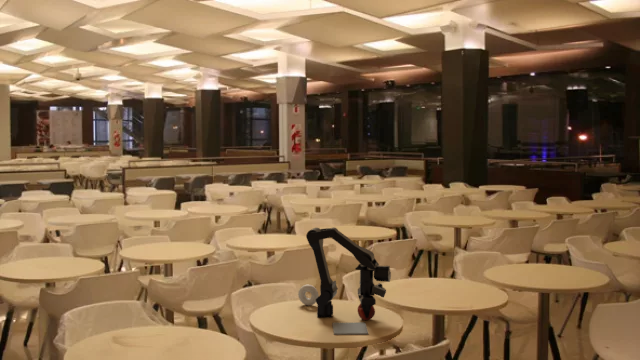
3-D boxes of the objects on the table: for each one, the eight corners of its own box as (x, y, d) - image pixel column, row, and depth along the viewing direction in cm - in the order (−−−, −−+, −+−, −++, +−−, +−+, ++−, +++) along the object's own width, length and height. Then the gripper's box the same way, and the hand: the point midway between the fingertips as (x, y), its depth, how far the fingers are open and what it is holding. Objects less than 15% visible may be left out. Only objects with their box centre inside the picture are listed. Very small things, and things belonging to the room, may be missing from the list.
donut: (297, 305, 320) (297, 284, 319) (299, 303, 323) (299, 282, 322) (317, 307, 316) (317, 286, 315) (319, 305, 320) (319, 284, 318)
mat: (334, 334, 278) (334, 333, 278) (332, 324, 292) (332, 322, 292) (368, 334, 278) (368, 333, 278) (365, 323, 292) (365, 322, 292)
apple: (354, 318, 300) (354, 300, 299) (370, 316, 303) (370, 298, 303) (362, 323, 294) (362, 304, 293) (378, 320, 297) (378, 302, 296)
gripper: (387, 285, 287) (387, 321, 289) (382, 274, 306) (382, 308, 308) (361, 285, 287) (361, 321, 289) (357, 274, 306) (357, 308, 307)
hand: (366, 315), depth 298 cm, fingers closed on apple, 7 cm apart
